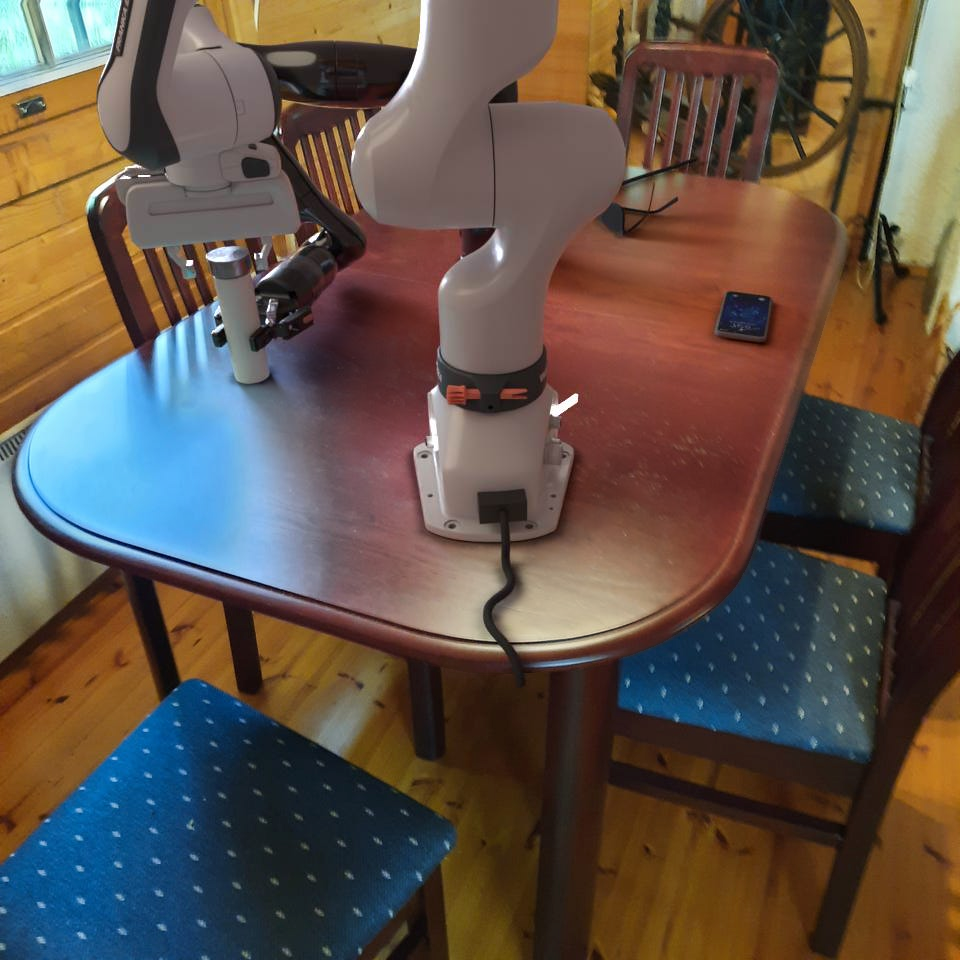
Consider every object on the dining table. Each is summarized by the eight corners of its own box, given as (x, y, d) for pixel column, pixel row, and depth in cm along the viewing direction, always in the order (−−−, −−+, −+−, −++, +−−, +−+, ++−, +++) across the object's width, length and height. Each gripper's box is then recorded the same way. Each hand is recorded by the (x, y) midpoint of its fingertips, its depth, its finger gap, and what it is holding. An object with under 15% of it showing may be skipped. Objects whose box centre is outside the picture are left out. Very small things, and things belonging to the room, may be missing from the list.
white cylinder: (276, 369, 119) (254, 253, 109) (258, 386, 115) (234, 267, 105) (247, 364, 120) (223, 249, 110) (228, 380, 117) (201, 263, 107)
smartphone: (773, 295, 132) (766, 339, 121) (772, 301, 133) (765, 345, 121) (725, 289, 134) (713, 331, 123) (724, 295, 135) (712, 337, 123)
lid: (242, 257, 112) (239, 242, 110) (259, 270, 108) (256, 255, 107) (202, 268, 109) (199, 252, 108) (218, 281, 106) (215, 265, 104)
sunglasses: (688, 228, 158) (691, 201, 155) (616, 238, 155) (618, 210, 152) (648, 199, 171) (651, 174, 168) (581, 208, 168) (582, 182, 165)
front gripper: (107, 176, 96) (138, 292, 104) (291, 160, 99) (308, 273, 107) (113, 161, 101) (143, 272, 109) (289, 146, 104) (305, 255, 112)
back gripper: (241, 261, 124) (179, 311, 111) (333, 269, 121) (279, 322, 108) (251, 309, 129) (192, 362, 116) (339, 318, 126) (288, 374, 112)
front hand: (226, 273), depth 108 cm, fingers open, 8 cm apart
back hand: (234, 343), depth 112 cm, fingers closed on white cylinder, 4 cm apart
